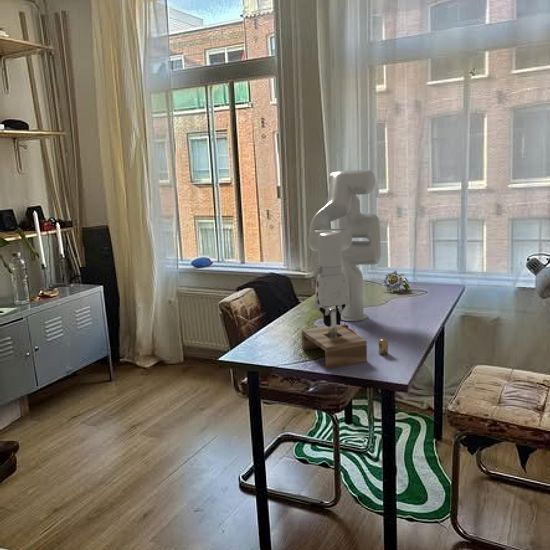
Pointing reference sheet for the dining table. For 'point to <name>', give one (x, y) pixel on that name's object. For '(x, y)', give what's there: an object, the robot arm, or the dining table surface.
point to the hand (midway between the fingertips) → (332, 324)
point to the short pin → (383, 346)
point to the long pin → (332, 323)
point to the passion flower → (395, 282)
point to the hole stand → (336, 346)
